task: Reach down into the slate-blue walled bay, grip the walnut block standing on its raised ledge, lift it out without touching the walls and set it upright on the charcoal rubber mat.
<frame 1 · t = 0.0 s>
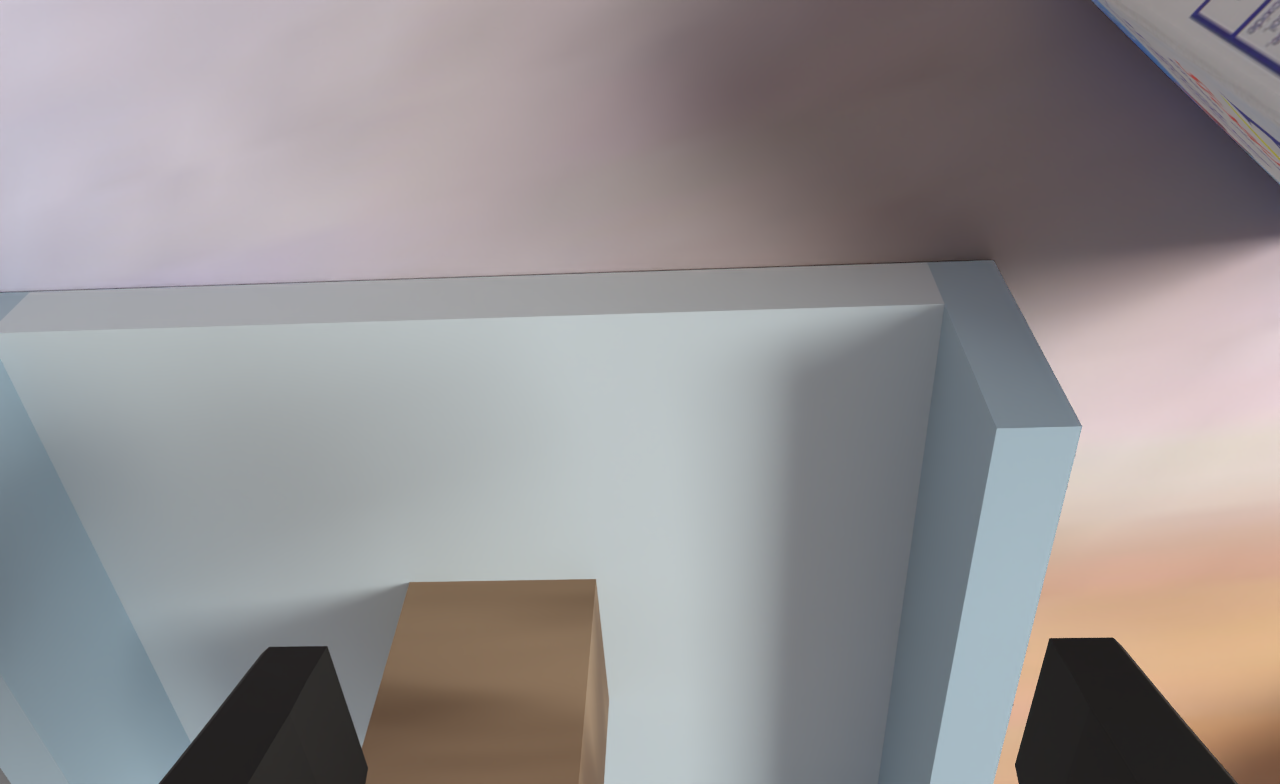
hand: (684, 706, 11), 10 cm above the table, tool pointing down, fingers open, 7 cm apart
bay: (522, 594, 24), on the table
walnut block: (513, 643, 23), point 1 cm above the table, touching bay
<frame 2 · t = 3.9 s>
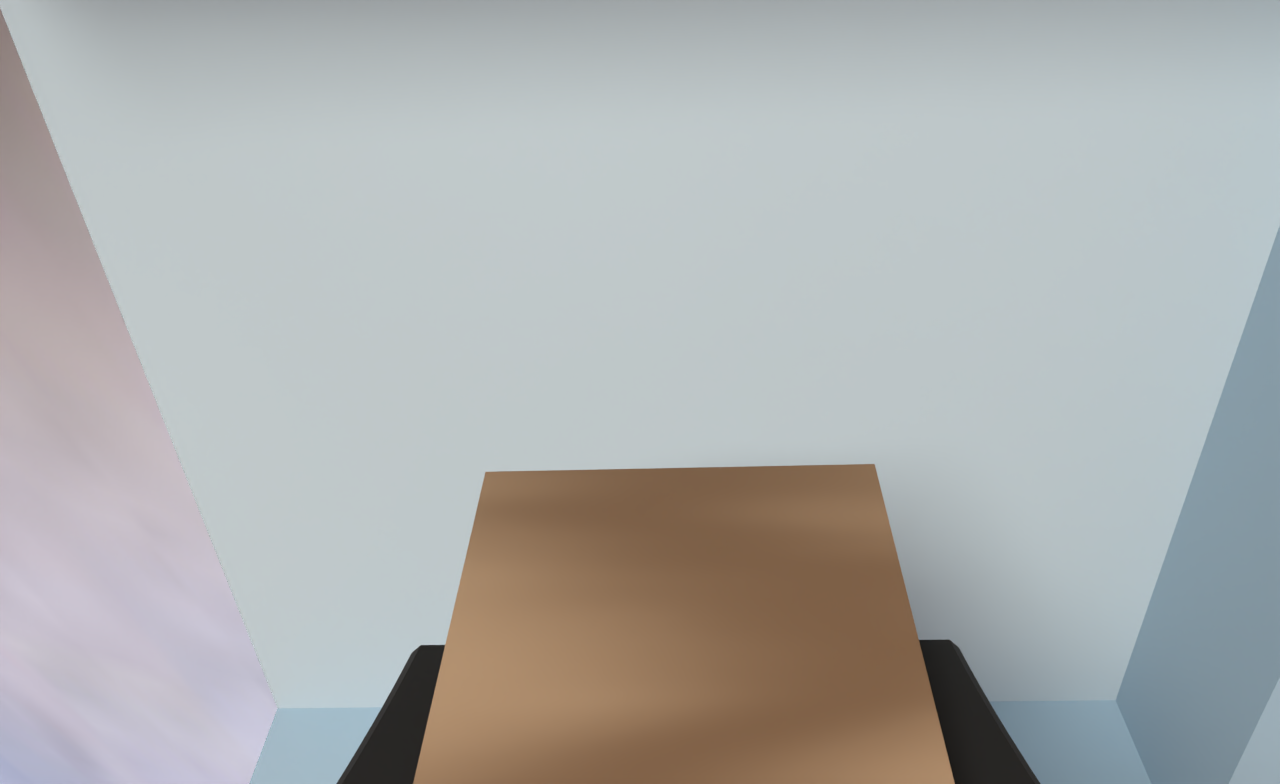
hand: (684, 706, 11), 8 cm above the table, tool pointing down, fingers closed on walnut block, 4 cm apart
bay: (677, 305, 17), on the table
walnut block: (682, 603, 12), point 7 cm above the table, touching gripper
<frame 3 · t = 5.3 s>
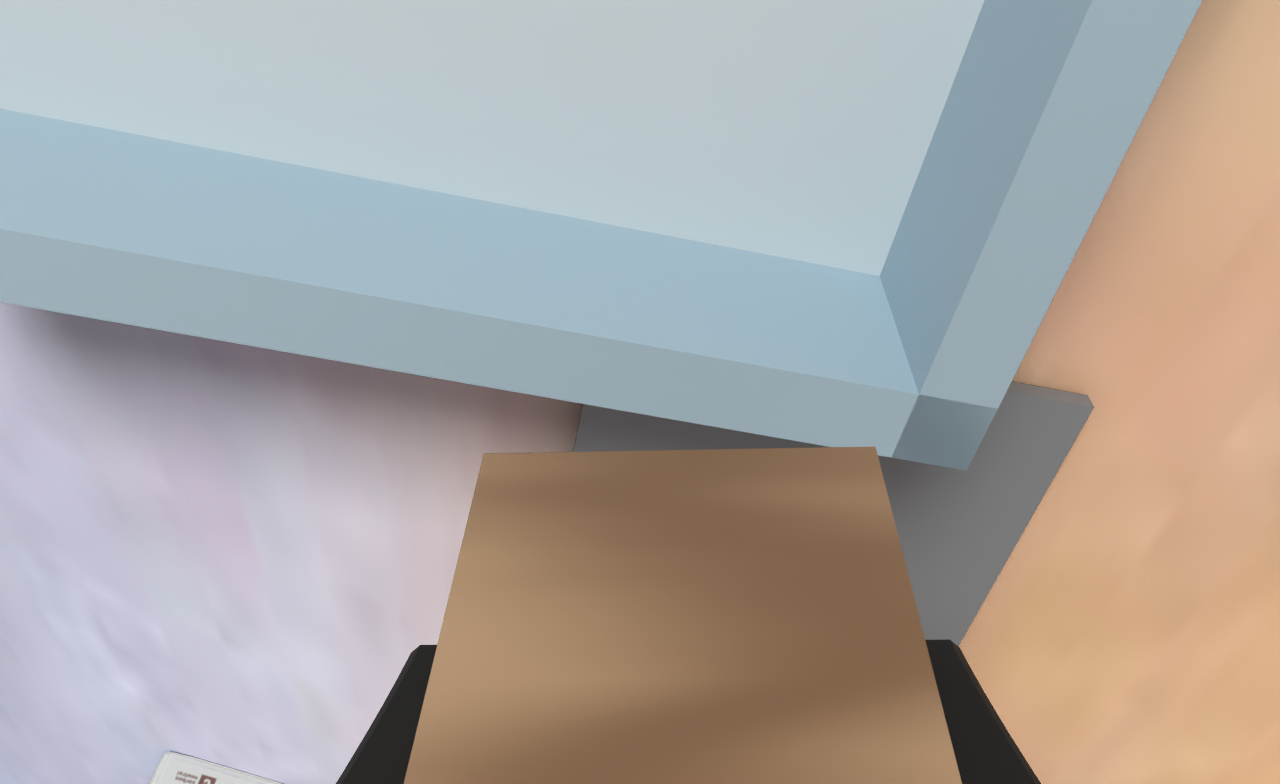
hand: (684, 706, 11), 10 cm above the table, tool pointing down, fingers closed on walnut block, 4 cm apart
mat: (781, 532, 23), on the table
walnut block: (682, 588, 12), point 9 cm above the table, touching gripper
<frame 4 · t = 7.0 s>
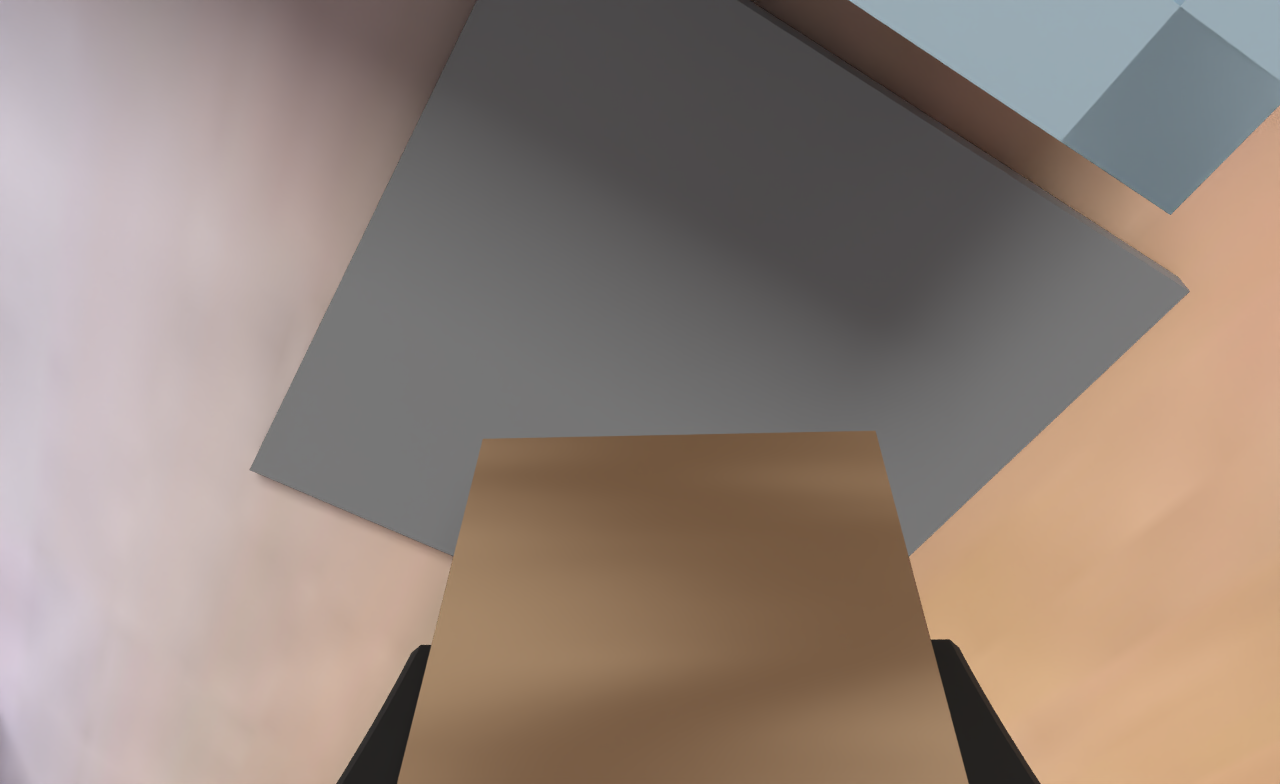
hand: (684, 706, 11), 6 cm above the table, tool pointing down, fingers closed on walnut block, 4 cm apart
mat: (683, 372, 15), on the table
walnut block: (681, 574, 12), point 5 cm above the table, touching gripper
when the fingers open (3 cm above the table, at t = 8.5 s): walnut block drops 1 cm, resting on mat.
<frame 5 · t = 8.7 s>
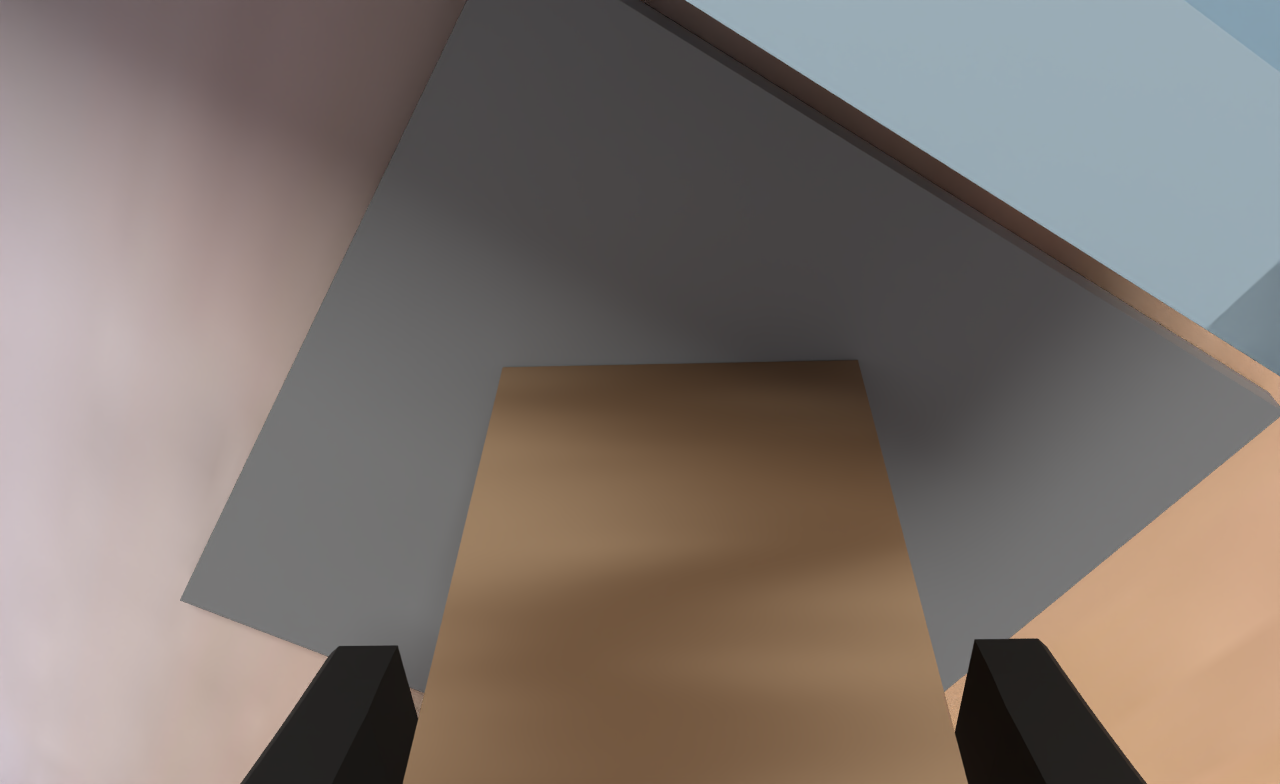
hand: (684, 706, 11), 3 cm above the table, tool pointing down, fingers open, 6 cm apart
mat: (682, 493, 13), on the table
walnut block: (682, 497, 13), resting on mat
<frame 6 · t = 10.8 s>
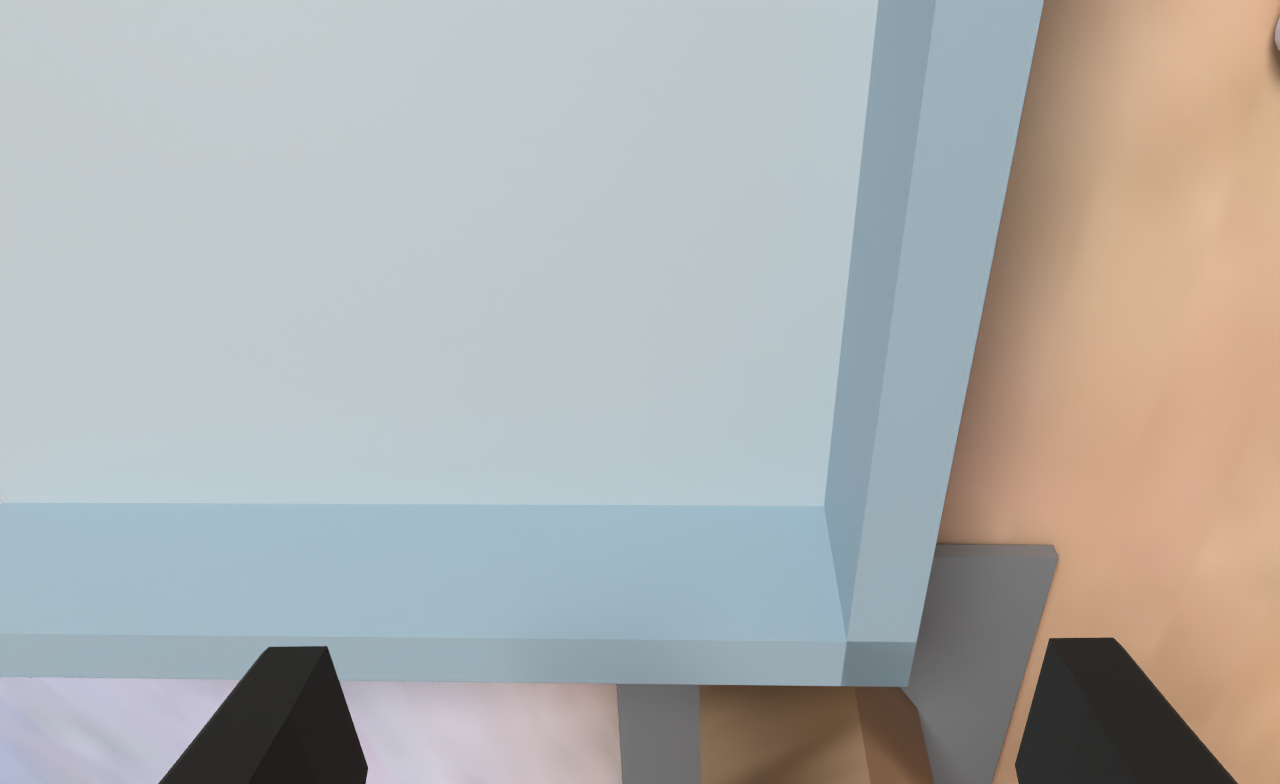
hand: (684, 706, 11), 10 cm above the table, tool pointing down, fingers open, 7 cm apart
bay: (346, 66, 17), on the table
mat: (813, 685, 26), on the table
walnut block: (809, 692, 26), resting on mat
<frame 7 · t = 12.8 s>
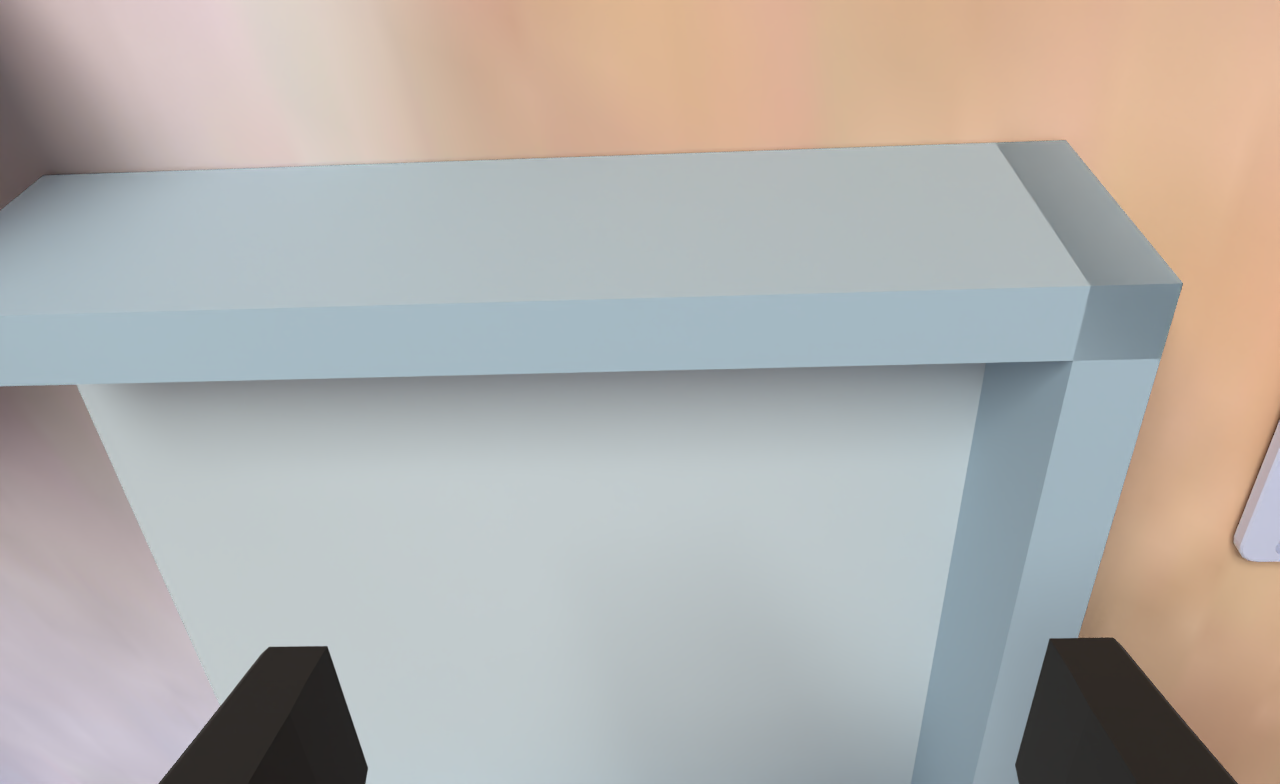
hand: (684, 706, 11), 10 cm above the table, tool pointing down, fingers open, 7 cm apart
bay: (559, 554, 24), on the table
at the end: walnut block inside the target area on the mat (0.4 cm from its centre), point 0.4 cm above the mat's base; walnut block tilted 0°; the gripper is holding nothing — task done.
